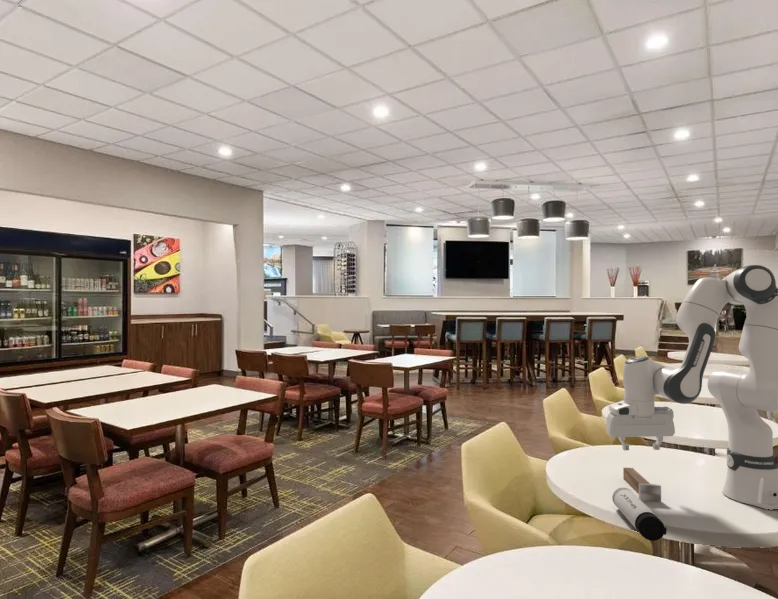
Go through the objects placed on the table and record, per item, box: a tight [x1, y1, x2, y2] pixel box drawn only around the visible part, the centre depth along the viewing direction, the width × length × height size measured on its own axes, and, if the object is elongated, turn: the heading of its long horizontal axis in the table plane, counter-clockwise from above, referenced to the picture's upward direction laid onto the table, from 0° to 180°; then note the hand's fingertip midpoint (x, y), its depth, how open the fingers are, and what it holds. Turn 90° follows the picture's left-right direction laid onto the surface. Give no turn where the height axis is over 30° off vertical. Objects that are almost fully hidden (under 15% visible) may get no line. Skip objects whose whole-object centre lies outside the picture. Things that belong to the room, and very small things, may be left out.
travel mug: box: [611, 487, 667, 542], centre depth 134 cm, size 6×7×20 cm
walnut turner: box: [622, 467, 662, 503], centre depth 158 cm, size 6×19×5 cm, turn 173°
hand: (641, 449), depth 158 cm, fingers open, 8 cm apart
